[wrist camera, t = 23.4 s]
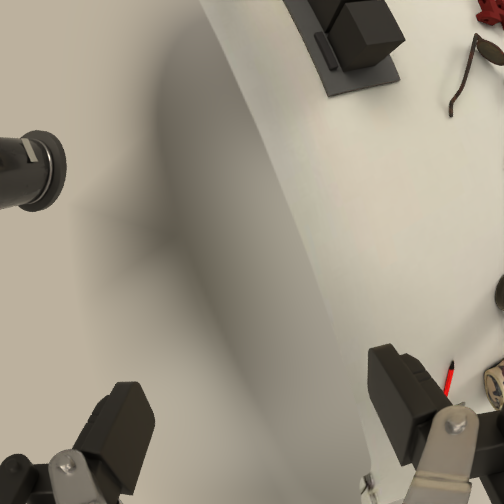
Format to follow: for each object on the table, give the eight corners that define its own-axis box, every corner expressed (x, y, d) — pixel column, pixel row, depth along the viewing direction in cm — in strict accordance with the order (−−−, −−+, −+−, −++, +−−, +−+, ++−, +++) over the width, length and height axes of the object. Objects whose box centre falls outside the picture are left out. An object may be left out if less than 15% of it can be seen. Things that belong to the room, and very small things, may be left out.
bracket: (487, 15, 25) (525, 31, 24) (475, -14, 23) (514, 3, 23) (477, 20, 27) (515, 35, 27) (466, -7, 26) (505, 8, 25)
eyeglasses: (526, 97, 30) (545, 93, 25) (508, 171, 33) (530, 173, 28) (465, 38, 29) (483, 28, 24) (443, 114, 32) (464, 108, 27)
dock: (327, 97, 32) (350, 73, 23) (265, -30, 28) (266, -73, 18) (399, 81, 31) (436, 59, 22) (333, -40, 27) (348, -80, 17)
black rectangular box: (342, 72, 31) (367, 45, 22) (326, 37, 30) (344, 3, 21) (375, 65, 30) (405, 40, 22) (359, 31, 29) (384, -1, 21)
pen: (429, 436, 45) (431, 440, 44) (450, 359, 41) (453, 362, 39) (433, 435, 45) (435, 439, 44) (454, 357, 40) (457, 361, 39)
